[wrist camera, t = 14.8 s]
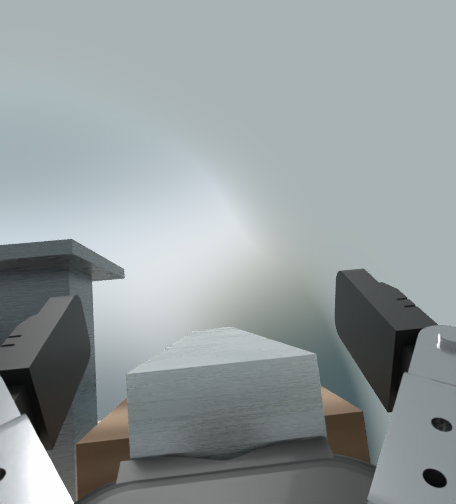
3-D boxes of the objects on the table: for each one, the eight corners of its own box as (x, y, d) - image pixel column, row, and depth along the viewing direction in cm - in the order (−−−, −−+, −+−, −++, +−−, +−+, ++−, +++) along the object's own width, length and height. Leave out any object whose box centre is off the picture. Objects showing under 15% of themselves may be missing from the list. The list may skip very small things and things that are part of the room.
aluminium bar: (344, 564, 6) (316, 353, 6) (136, 592, 6) (125, 374, 6) (235, 364, 31) (231, 326, 32) (197, 368, 31) (194, 330, 32)
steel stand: (89, 814, 21) (71, 239, 27) (-103, 846, 21) (-82, 252, 26) (142, 604, 37) (124, 269, 42) (33, 618, 36) (29, 277, 42)
